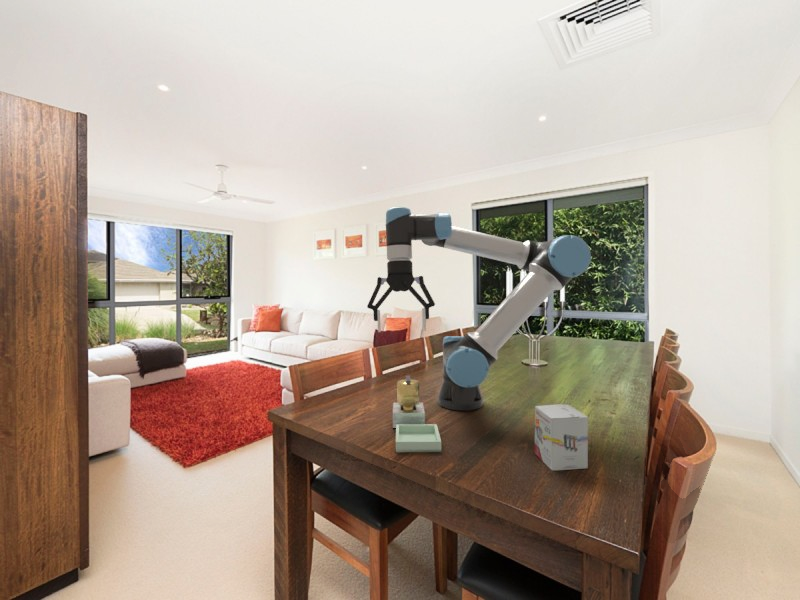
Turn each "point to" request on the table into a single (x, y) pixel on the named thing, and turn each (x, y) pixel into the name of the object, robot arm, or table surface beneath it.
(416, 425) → the tray
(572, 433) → the ink box
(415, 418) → the silver square block
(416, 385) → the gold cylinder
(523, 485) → the table surface
